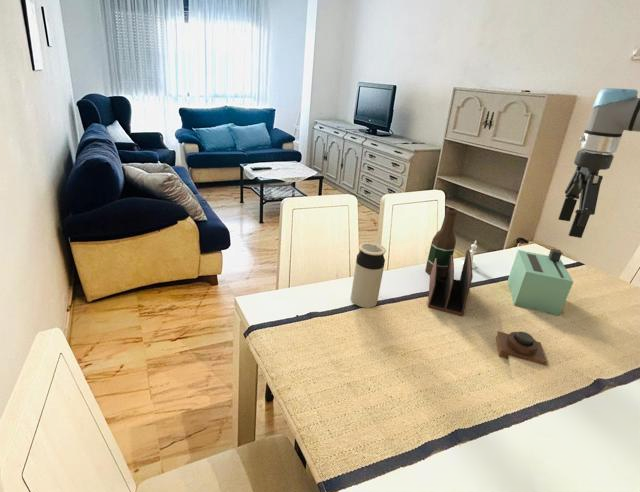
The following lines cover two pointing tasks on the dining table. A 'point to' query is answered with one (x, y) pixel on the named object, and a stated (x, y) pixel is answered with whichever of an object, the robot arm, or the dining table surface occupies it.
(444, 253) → the beer bottle
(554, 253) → the toaster slider
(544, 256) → the toaster
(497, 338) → the button block
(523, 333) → the button
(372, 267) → the travel mug
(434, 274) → the letter holder
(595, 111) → the robot arm
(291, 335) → the dining table surface
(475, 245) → the chess piece
